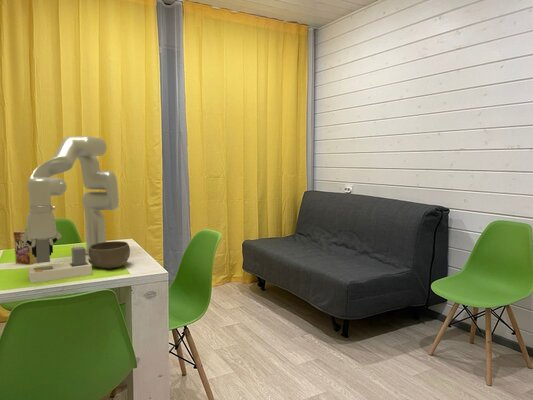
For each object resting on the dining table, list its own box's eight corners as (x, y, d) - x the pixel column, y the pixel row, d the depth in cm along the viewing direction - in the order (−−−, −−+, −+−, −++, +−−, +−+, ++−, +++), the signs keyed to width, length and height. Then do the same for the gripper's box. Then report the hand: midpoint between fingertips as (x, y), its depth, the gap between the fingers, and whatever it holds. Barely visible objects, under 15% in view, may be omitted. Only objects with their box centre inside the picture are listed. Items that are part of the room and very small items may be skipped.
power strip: (87, 270, 177) (86, 243, 176) (92, 275, 169) (90, 247, 168) (28, 278, 165) (27, 249, 164) (30, 284, 157) (29, 254, 155)
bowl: (86, 273, 174) (85, 249, 173) (92, 262, 191) (91, 241, 190) (129, 270, 178) (128, 247, 177) (131, 260, 195) (130, 239, 194)
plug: (48, 259, 166) (47, 235, 165) (50, 261, 162) (48, 236, 161) (35, 261, 163) (34, 236, 162) (37, 263, 159) (35, 238, 159)
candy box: (14, 264, 187) (12, 231, 185) (22, 262, 191) (21, 230, 190) (29, 266, 184) (28, 232, 183) (37, 263, 188) (36, 231, 187)
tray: (59, 267, 183) (59, 263, 183) (63, 272, 175) (63, 267, 174) (34, 270, 177) (33, 266, 177) (36, 275, 169) (36, 271, 169)
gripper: (62, 207, 169) (64, 251, 170) (14, 210, 159) (17, 256, 161) (65, 209, 162) (67, 254, 164) (16, 212, 153) (18, 260, 155)
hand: (42, 255), depth 162 cm, fingers closed on plug, 4 cm apart
